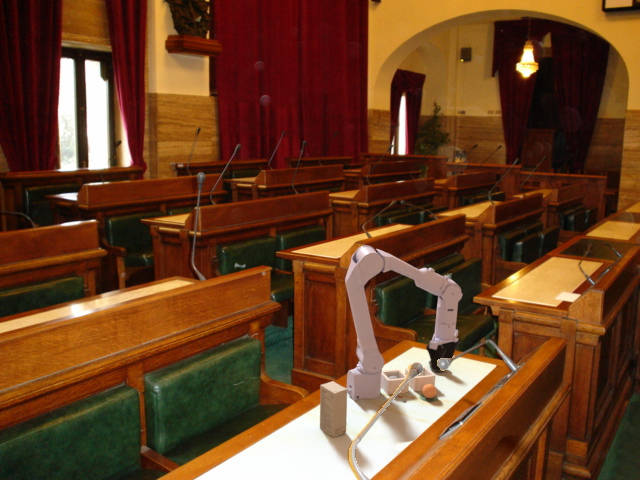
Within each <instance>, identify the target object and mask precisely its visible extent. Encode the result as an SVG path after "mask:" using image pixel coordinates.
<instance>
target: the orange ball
mask: <svg viewBox="0 0 640 480" xmlns="http://www.w3.org/2000/svg"><path fill="white" fill-rule="evenodd" d="M422 394H423V395H424V396H425V397H426V398H433V397H435V396H437V388H436V386H434V385H432V384H427V385H425V386H424V387H423V390H422Z"/></svg>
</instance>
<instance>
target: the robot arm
mask: <svg viewBox="0 0 640 480" xmlns="http://www.w3.org/2000/svg"><path fill="white" fill-rule="evenodd" d="M376 251H377V252H376ZM389 271H393V272H395V273H397V274H400V275H402V276H405V277H407V278H408V279H412V280H414V284H415V286H416V287H418V288H420V289H422V290H424V291H426V292H428V293H429V294H432V295H433V296H437V304H436V305H437V306H436V312H435V314H436V316H435V325H434V333H433V336H432V339H431V340H430V341H429V343H428V344H426V347H425V348H426V351H427V353H428V355H429V359H430V360H429V361H431V366H432V369H434V370H437V371H439V370H440V368H439V367H438V366H437V360H438V359H440V358H452V357H453V358H454V355H455V352H456V350H457V347H458V346H459V345H460V343H461V341H462V340H461V339H460V338H458V335H459V330H458V329H456V328H457V327H456V325H457V317H458V306H459V302H460V300H462V298H463V293H462V289H461V286H459V284H458V283H456V282H455V281H454V280H453V279H451V278H450V277H448V276H447V275H444V276H443V275H441V274H439V273H437V272H435V269H434V268H432V267H429V268H427V267H422V268H419V269H418V268H417V267H414V266H413V265H411V264H409V263H408V262H405V261H404V260H402V259H400V258H398V257H396V256H394V255H392V254H391V253H389V252H385V251H383V249H382V250H381V249H378V248H376V249H375V248H374V247H372V246H370V245H362V246H359V247H358V248H357V249H356V251H355V252H354V253H353V254H352V255H351V259H350V264H349V267H348V270H347V272H346V275H345V278H344V282H345V283H344V284H345V286H346V287H345V288H346V293H347V296H348V300H349V305H350V311H351V315H352V318H353V319H352V320H353V323H354V328H355V332H356V337H357V339H356V341H357V346H356V351H355V352H356V357H357V358H358V360H359V361H358V363H357V364H356V367H355V368H353V369H349V370H348V371H347V375H346V389H347V396H349V397H350V398H351V399H352V401H359V400H363V399H371V400H372V399H377V398H378V397H380V396H381V389H382V388H381V376H382V371H383V368H384V366H385V359H384V357H383V356H382V354H381V352H380V351H379V347H378V344H377V341H376V338H375V334H374V329H373V324H372V319H371V316H370V309H369V306H368V301H367V296H366V291H365V285H366V284H367V283H368V281H369V280H371V279H372V278H374V277H376V276H377V275H379V274H380V272H382V273H386V272H389ZM441 344H442V345H443V349H442V347H441ZM453 358H452V359H453Z"/></svg>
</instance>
